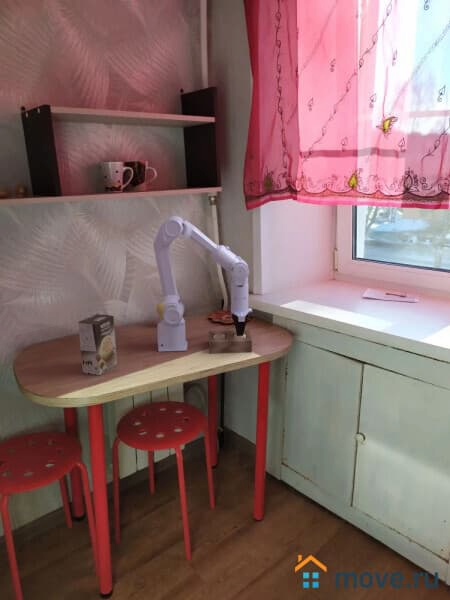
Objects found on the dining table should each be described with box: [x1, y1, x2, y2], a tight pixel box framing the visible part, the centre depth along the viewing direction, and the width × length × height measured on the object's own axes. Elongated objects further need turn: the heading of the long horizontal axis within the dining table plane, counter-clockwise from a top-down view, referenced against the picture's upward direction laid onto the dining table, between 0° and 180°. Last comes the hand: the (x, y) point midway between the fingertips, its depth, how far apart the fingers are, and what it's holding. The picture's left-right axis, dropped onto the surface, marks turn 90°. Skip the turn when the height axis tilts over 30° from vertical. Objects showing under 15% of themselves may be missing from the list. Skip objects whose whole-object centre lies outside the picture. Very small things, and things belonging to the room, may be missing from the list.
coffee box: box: [77, 313, 118, 376], centre depth 140 cm, size 9×6×16 cm
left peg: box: [213, 334, 225, 339], centre depth 157 cm, size 4×4×4 cm
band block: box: [208, 329, 253, 355], centre depth 158 cm, size 14×11×4 cm
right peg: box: [234, 334, 246, 338], centre depth 158 cm, size 4×4×4 cm
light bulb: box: [155, 301, 164, 323], centre depth 178 cm, size 6×6×10 cm
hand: (240, 335), depth 157 cm, fingers closed, pressing on right peg
